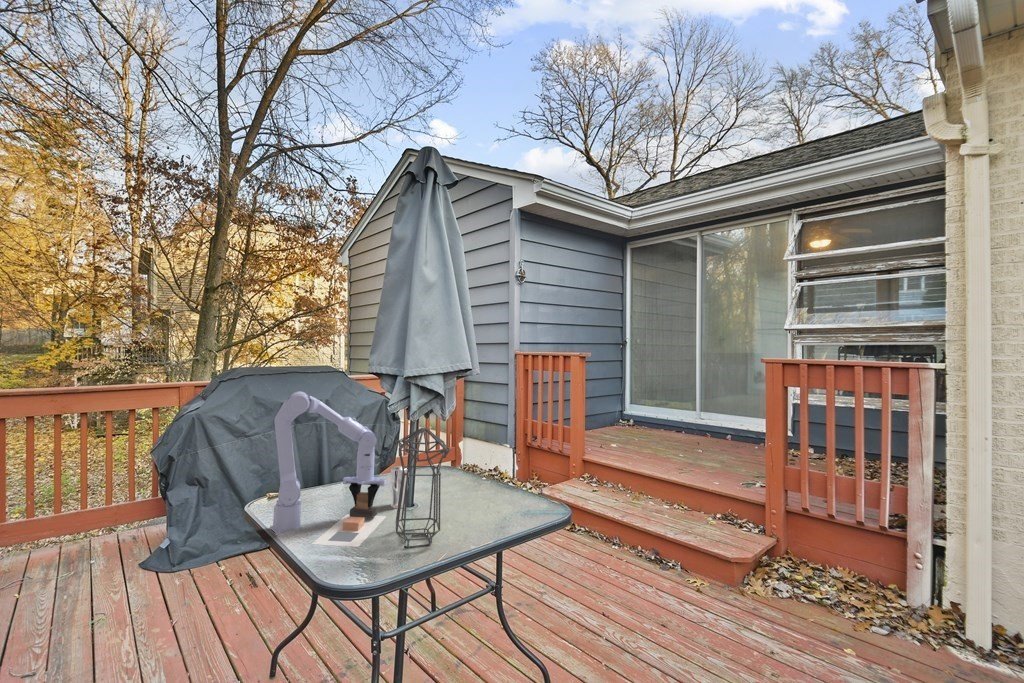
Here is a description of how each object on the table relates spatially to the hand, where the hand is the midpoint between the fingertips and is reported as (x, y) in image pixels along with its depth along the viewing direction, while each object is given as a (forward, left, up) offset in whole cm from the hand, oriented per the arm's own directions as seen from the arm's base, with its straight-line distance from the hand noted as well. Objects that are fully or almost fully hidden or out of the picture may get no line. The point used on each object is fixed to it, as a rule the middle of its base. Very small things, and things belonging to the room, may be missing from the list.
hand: (363, 505), depth 156 cm
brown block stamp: (0, 0, -3) cm, 3 cm away
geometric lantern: (+25, +7, -6) cm, 27 cm away
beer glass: (-5, +16, -6) cm, 18 cm away
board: (+7, -7, -5) cm, 11 cm away
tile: (+6, -6, -4) cm, 9 cm away
